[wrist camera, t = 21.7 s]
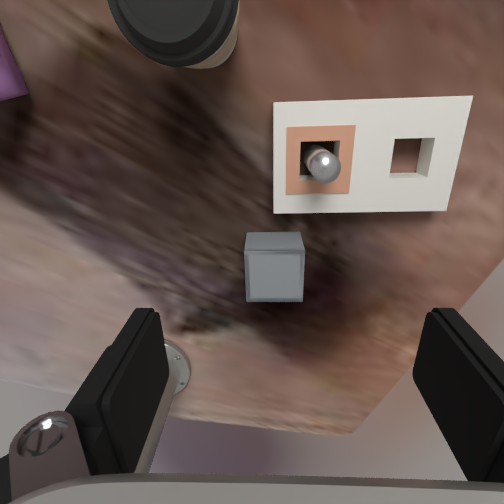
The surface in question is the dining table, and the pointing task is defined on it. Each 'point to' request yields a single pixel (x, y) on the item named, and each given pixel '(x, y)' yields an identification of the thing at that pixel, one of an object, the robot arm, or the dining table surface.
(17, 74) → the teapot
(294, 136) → the board
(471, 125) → the dining table surface
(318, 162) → the pin
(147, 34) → the coffee cup
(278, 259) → the cover
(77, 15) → the dining table surface
